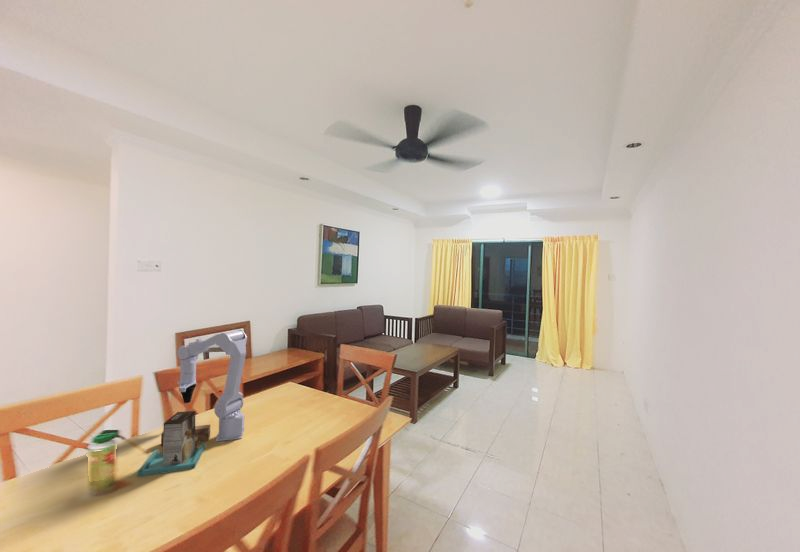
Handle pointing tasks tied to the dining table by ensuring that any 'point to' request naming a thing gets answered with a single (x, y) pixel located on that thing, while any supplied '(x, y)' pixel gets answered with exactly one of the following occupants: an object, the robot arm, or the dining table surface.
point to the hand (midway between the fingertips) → (187, 402)
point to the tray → (156, 465)
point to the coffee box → (179, 438)
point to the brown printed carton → (197, 434)
